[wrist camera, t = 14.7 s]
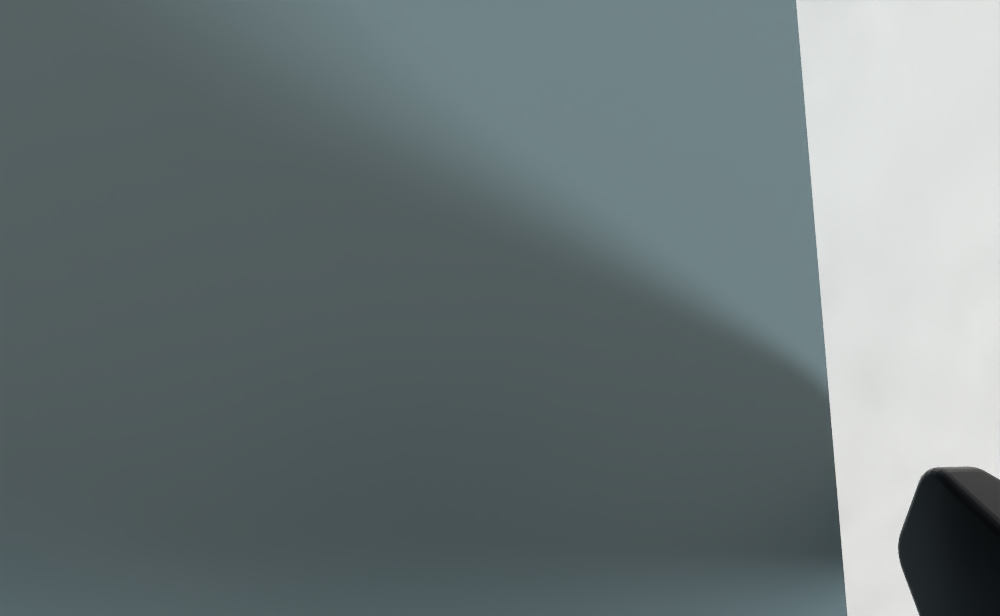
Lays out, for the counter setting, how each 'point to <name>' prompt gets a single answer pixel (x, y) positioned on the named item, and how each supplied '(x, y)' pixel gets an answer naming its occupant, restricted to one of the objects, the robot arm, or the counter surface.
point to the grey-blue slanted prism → (410, 311)
